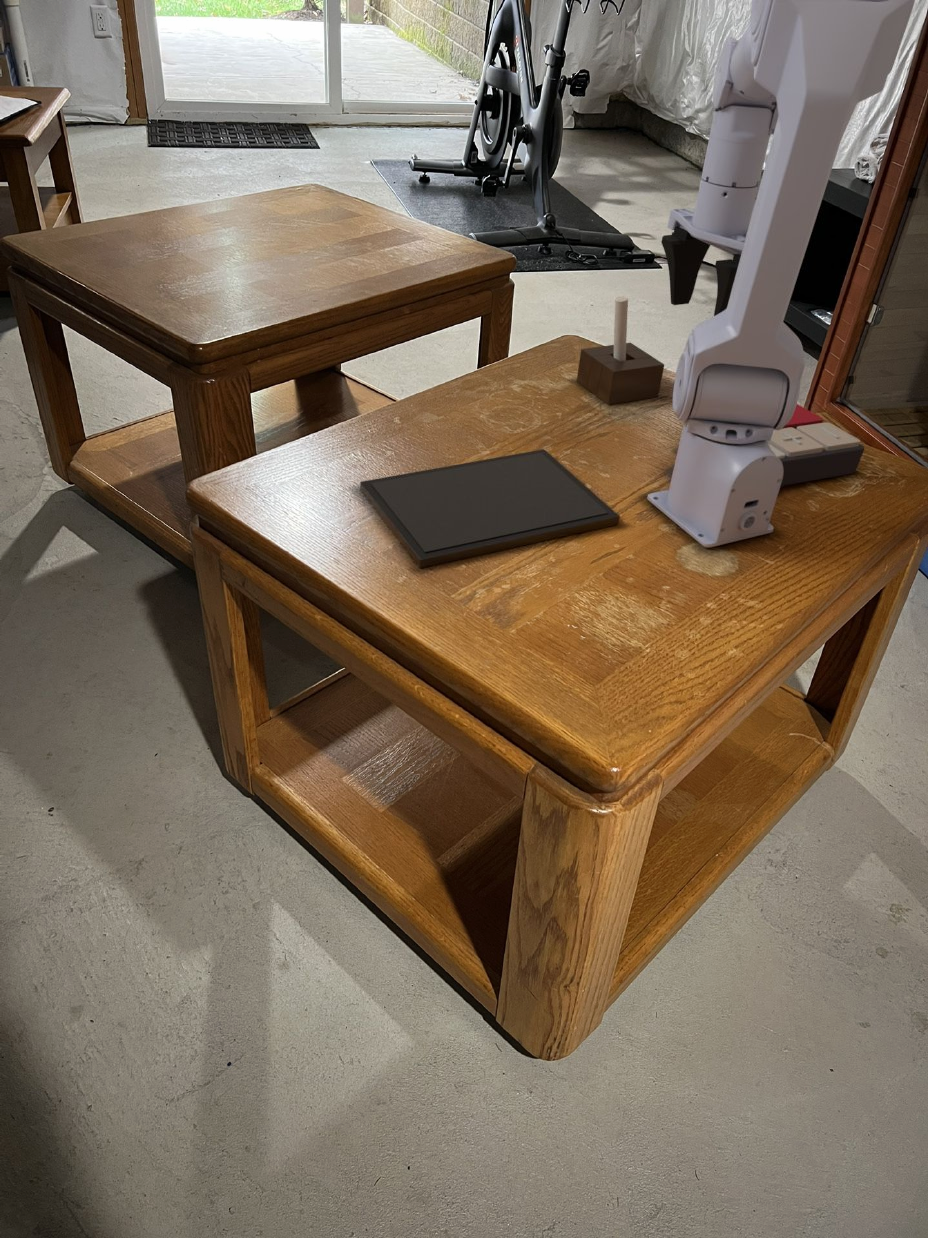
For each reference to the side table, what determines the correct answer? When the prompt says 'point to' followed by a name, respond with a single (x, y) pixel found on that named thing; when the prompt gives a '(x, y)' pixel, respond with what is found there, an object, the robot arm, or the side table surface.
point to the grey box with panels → (814, 449)
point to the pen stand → (620, 374)
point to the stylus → (620, 328)
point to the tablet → (485, 506)
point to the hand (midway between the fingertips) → (700, 315)
